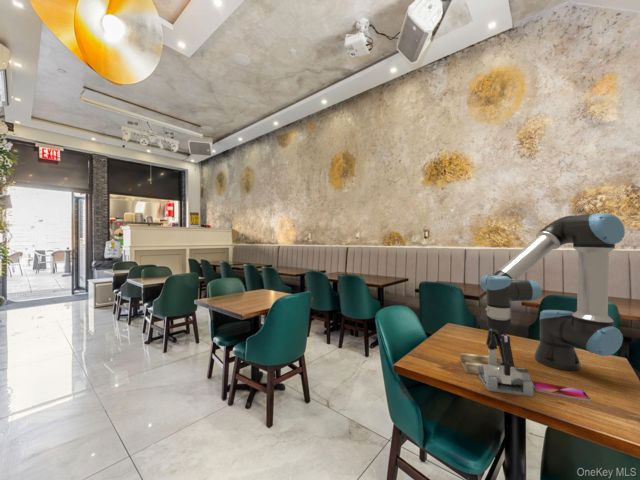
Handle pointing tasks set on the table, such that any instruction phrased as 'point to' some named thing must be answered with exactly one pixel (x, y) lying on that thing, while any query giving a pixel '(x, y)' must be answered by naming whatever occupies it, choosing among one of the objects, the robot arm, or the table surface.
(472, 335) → the table surface
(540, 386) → the smartphone
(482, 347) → the table surface
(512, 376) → the axle
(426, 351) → the table surface
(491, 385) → the cradle
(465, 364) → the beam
